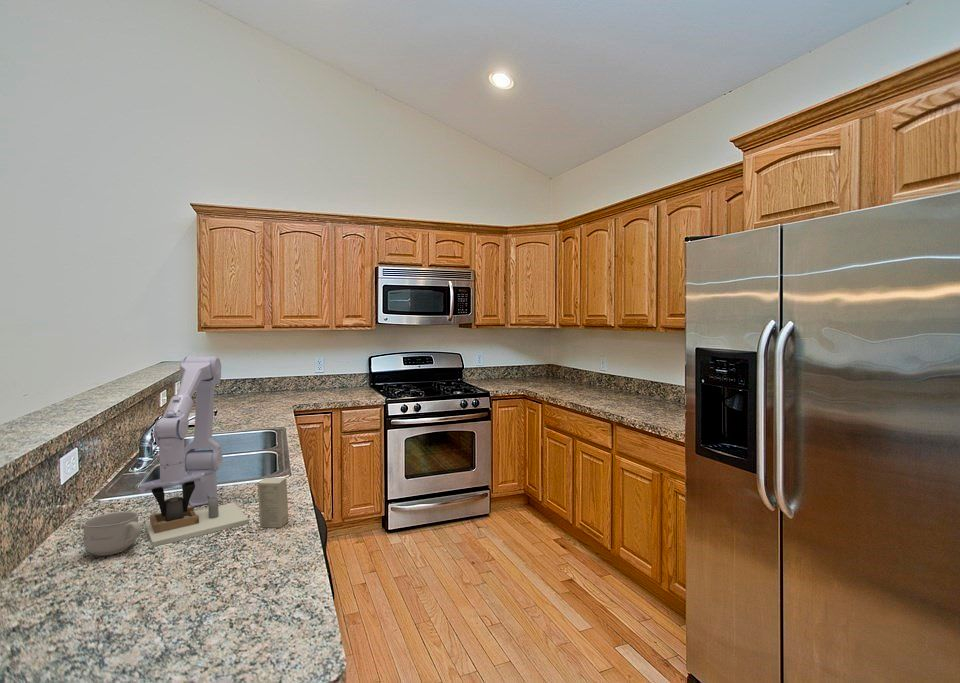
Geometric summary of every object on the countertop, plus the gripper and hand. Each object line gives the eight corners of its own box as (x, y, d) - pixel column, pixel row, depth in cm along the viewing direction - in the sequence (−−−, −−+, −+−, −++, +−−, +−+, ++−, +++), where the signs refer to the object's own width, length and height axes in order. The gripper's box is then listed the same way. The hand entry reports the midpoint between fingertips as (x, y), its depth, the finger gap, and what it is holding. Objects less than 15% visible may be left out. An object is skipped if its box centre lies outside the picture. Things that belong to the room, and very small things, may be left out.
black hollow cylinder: (164, 517, 135) (163, 499, 134) (183, 514, 137) (182, 495, 137) (165, 523, 131) (164, 504, 131) (185, 519, 134) (184, 500, 133)
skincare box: (288, 521, 138) (287, 477, 137) (280, 528, 133) (279, 483, 133) (266, 520, 138) (265, 477, 138) (258, 527, 134) (257, 482, 133)
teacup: (74, 554, 119) (73, 521, 119) (124, 536, 129) (123, 506, 128) (106, 568, 113) (105, 532, 112) (156, 548, 122) (155, 515, 122)
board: (145, 526, 135) (144, 503, 135) (234, 506, 149) (233, 485, 149) (152, 547, 123) (151, 522, 122) (248, 523, 137) (248, 501, 136)
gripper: (141, 471, 126) (143, 524, 126) (206, 460, 135) (207, 510, 136) (138, 465, 131) (140, 516, 132) (200, 455, 140) (202, 503, 141)
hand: (174, 513), depth 134 cm, fingers closed on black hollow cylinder, 4 cm apart
